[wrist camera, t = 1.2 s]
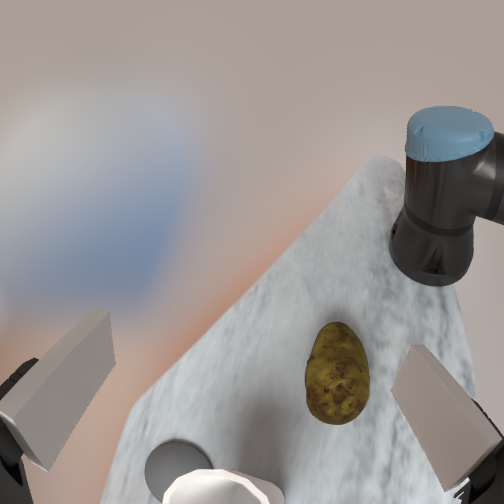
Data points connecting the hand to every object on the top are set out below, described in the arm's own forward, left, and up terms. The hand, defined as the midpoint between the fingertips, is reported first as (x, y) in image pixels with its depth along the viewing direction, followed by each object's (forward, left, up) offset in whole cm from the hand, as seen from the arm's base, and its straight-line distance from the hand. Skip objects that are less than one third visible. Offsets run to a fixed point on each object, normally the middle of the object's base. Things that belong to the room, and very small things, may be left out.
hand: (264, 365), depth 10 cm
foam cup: (+9, +7, -24) cm, 27 cm away
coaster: (+18, +1, -24) cm, 30 cm away
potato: (-6, -4, -24) cm, 25 cm away
